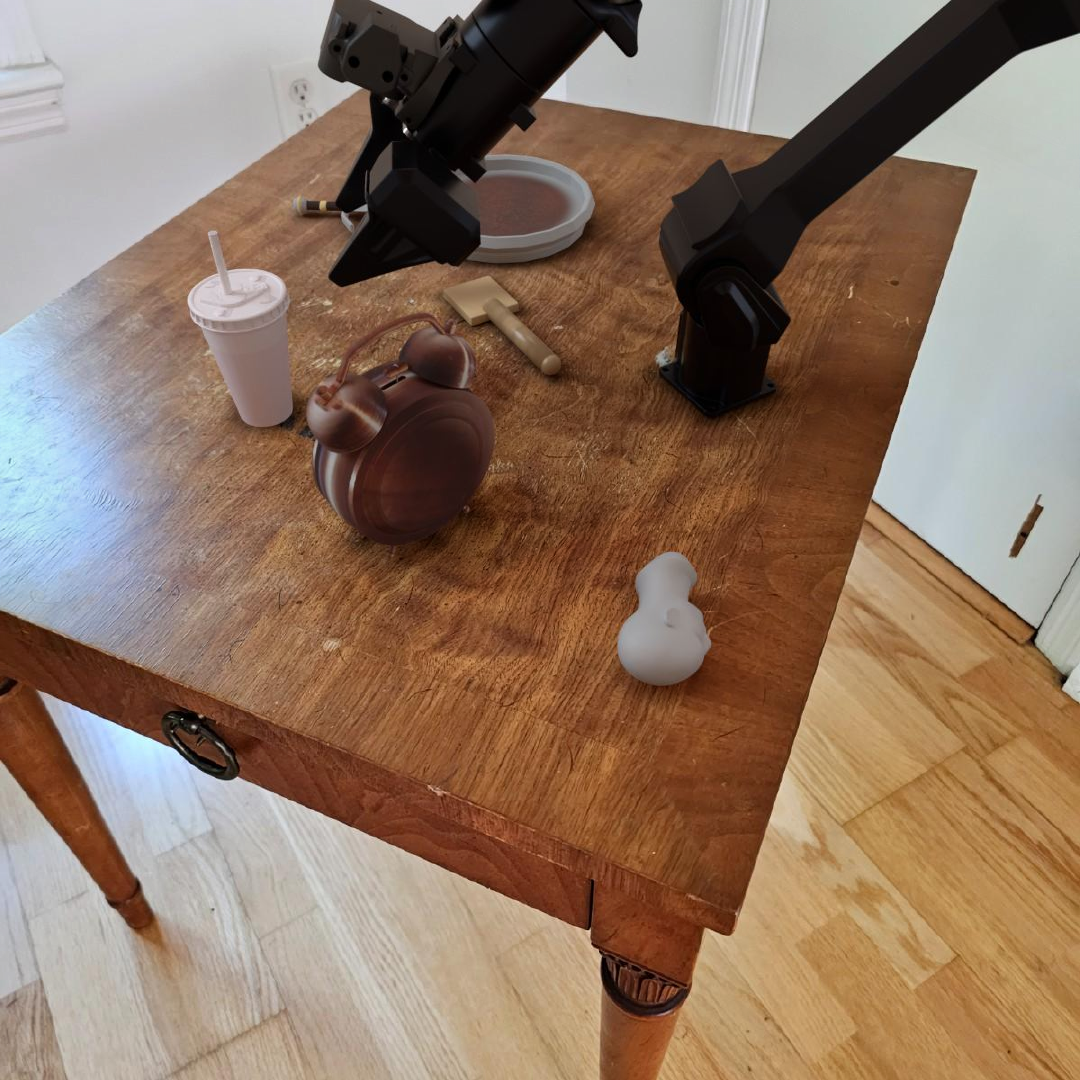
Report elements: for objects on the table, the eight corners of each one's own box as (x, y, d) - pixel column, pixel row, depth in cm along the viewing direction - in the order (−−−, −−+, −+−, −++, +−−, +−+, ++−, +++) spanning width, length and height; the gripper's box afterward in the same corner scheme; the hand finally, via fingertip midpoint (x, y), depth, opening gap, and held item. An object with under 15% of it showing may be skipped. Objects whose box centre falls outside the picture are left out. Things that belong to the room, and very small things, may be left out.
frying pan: (309, 149, 94) (596, 151, 92) (315, 178, 96) (595, 180, 94) (266, 236, 82) (594, 239, 81) (274, 267, 84) (593, 270, 83)
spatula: (580, 369, 73) (581, 352, 72) (530, 387, 71) (530, 370, 70) (489, 283, 81) (488, 266, 80) (443, 297, 80) (441, 280, 79)
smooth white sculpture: (682, 717, 53) (597, 680, 52) (706, 607, 58) (629, 573, 58) (716, 680, 49) (626, 640, 49) (738, 567, 55) (657, 531, 54)
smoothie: (213, 396, 70) (160, 217, 60) (300, 375, 72) (262, 199, 62) (230, 448, 66) (176, 266, 56) (321, 426, 68) (285, 245, 58)
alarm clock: (456, 469, 65) (441, 270, 54) (503, 505, 62) (497, 305, 52) (320, 547, 60) (274, 345, 49) (366, 590, 57) (327, 387, 46)
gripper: (396, -109, 55) (242, 94, 62) (396, -4, 42) (202, 237, 49) (531, 34, 62) (377, 204, 69) (568, 164, 49) (373, 356, 56)
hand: (337, 243), depth 60 cm, fingers open, 9 cm apart
